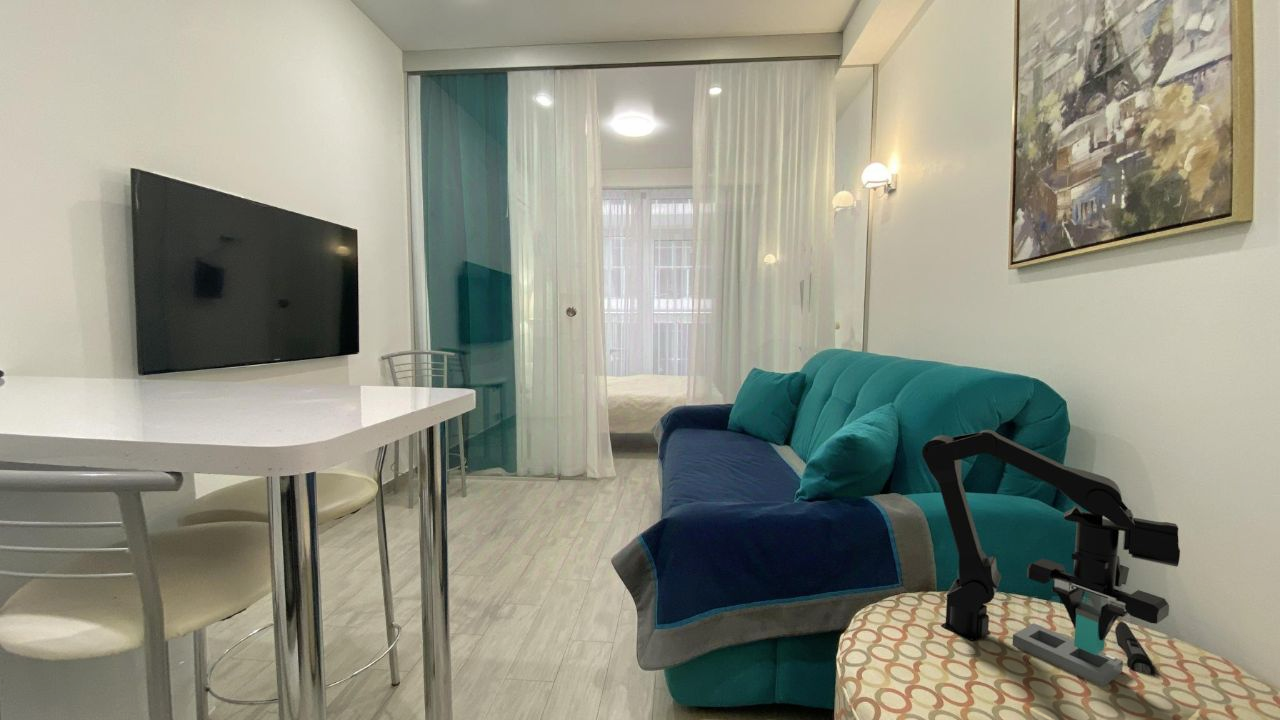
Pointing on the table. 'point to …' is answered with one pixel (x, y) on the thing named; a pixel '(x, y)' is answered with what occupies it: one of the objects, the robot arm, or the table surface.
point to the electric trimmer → (1133, 650)
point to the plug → (1088, 629)
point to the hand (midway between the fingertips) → (1089, 634)
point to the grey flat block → (1067, 654)
